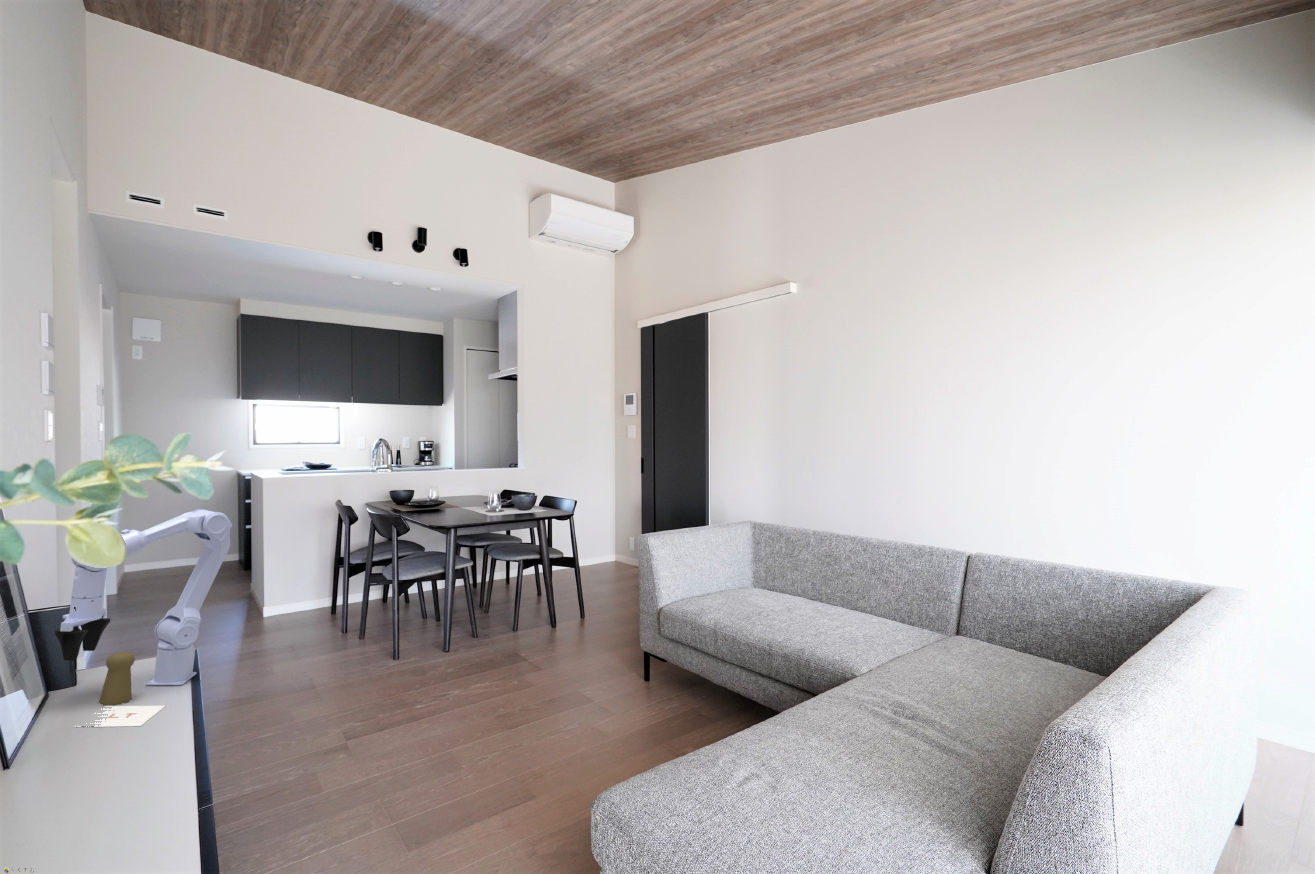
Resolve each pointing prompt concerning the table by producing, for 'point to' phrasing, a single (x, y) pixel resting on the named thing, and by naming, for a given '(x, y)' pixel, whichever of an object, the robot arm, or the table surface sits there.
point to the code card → (127, 716)
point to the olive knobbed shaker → (117, 679)
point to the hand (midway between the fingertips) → (79, 655)
